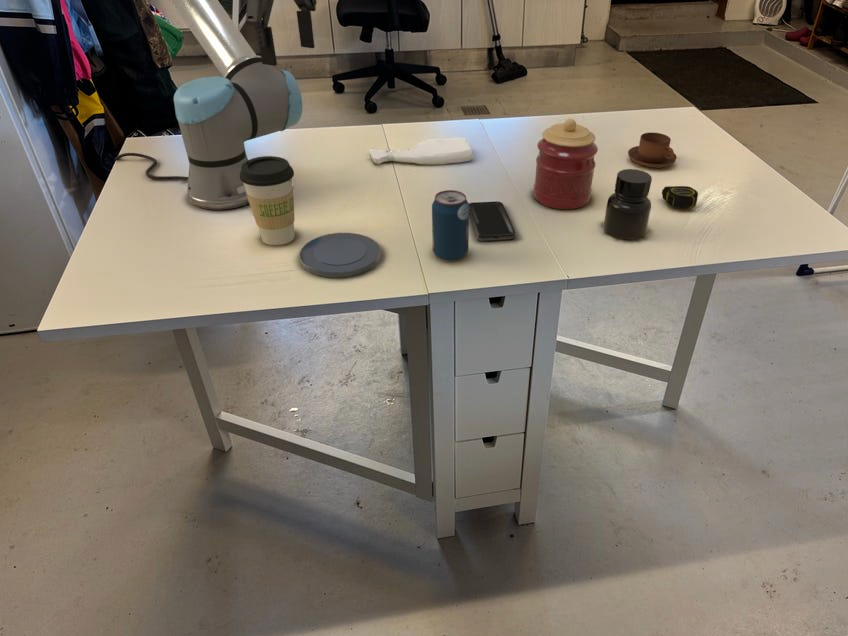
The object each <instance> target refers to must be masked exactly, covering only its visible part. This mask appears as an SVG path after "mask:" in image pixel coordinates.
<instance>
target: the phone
mask: <svg viewBox="0 0 848 636" xmlns="http://www.w3.org/2000/svg"><path fill="white" fill-rule="evenodd" d="M468 203H469V220H470V223H471V225H472V228H473V231H474V235H475V236H476V239H477V240H478V241H480V242H491V241H506V240H508V241H509V240H513V239H515V237H516V231H515V228H514V226H513V223H512V221H511V219H510V217H509V214H508V212H507V211H506V208H505V206H504V203H503V202H502V201H498V200H497V201H476V202H475V201H473V202H468Z"/></svg>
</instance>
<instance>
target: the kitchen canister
mask: <svg viewBox="0 0 848 636" xmlns="http://www.w3.org/2000/svg"><path fill="white" fill-rule="evenodd" d="M541 135H542V138H541V139H539V140H538V142H537V143H536V145H537V149H538V155H537V156H536V158H535V162H536V165H535V166H536V167H535V179H534V183H533V196H534V199H535V200H536V201H537V202H538V203H540V204H541V205H544V206H545V207H548V208H552V209H556V210H557V209H558V210H573V209H579V208H582V207H584V206H586V205H587V204H588V203H589V202H590V198H591V196H592V191H593V189H592V186H593V180H594V173H595V168H596V166H597V165H596V161H595V156H596V154H597V153H598V152H599V151H598V150H599V149H598V146H597V144H596V143H595V141H596V136H595V133H593V132H592V131H591V130H590V129H588V128H587V127H585V126H584V125H581V124H577V121H576V120H575V119H573V118H567V119H565V121H564V122H563V123H562V122H561V123H556V124H553V125H550V127H548V128H546V129H544V130H543V131H542V134H541Z"/></svg>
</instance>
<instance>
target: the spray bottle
mask: <svg viewBox="0 0 848 636" xmlns="http://www.w3.org/2000/svg"><path fill="white" fill-rule="evenodd" d="M369 153H370V157H371V160H372V161H373V162H374V163H376V164H377V165H380V164H381V163H384V162H400V163H409V164H417V165H425V166H426V165H428V166H429V165H433V166H434V165H437V166H438V165H447V164H458V163H459V164H460V163H467V162H471V161H472V160H473V157H474V155H473V150H472V148H471V146H470V144H469V142H468V141H467V140H466V138H464V137H444V138H443V137H441V138H431V139H427V140H426V139H425V140H423V141H421V142H419V143H418V144H417V145H416V146H415V147H414V148H413V149H401V150H395V149H393V150H392V149H391V148H388V149H383V150H379V149H375V148H373V147H372V148H370V149H369Z"/></svg>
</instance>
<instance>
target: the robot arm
mask: <svg viewBox="0 0 848 636" xmlns="http://www.w3.org/2000/svg"><path fill="white" fill-rule="evenodd" d="M169 2H170V4H172V6H173V7H174V9H175V10H176V12H177V13H178V14H179V16H180V18H181V19H182V20H183V22H184V23H185V24H186V26H187V28H188V29H189V30H190V32H192V34H193V36H194V37H195V39H196V40H197V42H198V43H199V44H200V46H201V47H202V49H203V50H204V51H205V53H206V55H207V56H208V58H209V59H210V60H211V62H212V63H213V65H214V66H215V67H216V69H217V70H218V72H219V73H220V75H221V76H218V75H217V76H215V75H214V76H209V77H205V76H203V77H199V78H195V79H191V80H190V81H188V82H185V83H184V84H182V85H180V86H179V87H178V88H177V89H176V91H175V92H174V95H173V104H174V110H175V117H176V120H177V122H178V126H179V129H180V134H181V137H182V140H183V144H184V149H185V152H186V156H187V160H188V164H189V167H188V176H180V175H179V176H177V175H174V176H172V175H169V176H167V175H166V176H159V175H152V174H150V173H151V171H152V170H153V169H154V168H155V167H156V166H157V165H158V161H157V159H156V158H154V157H152V156H150V155H146V154H143V153H137V152H125V153H121V154H118V155H117V156H116V157H115V158H114V161H119V160H121V158H125V157H138V158H143V159H147V160H148V161H149V160H150V161H151V162H152V164H151V165H150V166H148V168H147V169H146V171H145V176H146V177H148V178H150V179H152V180H158V181H159V180H163V181H167V180H183V181H187V188H186V192H187V195H188V198H189V199H188V200H189V202H190V203H191V204H192V205H194V206H195V207H197V208H201V209H205V210H213V211H215V210H216V211H217V210H220V211H221V210H222V211H223V210H231V209H236V208H237V209H238V208H240V207H244V206H247V205H250V203H249V200H248V198H247V195H246V189H245V186H244V183H243V182H242V181H241V180H240V171H241V166H242V164H243V163H244V162H246V161H248V160H249V159H248V156H247V151H246V147H245V142H247V141H250V140H255V139H257V138H261V137H264V136H267V135H271V134H275V133H277V132H283V131H286V130H287V129H289V128H292V127H294V126H296V125H297V124H298V123H299V122H300V120H301V118H302V115H303V96H302V93H301V89H300V86H299V84H298V82H297V80H296V78H295V77H294V75H293V74H292V72H290V71H288V70H285V69H278V70H276V69H275V68H274V67H275V66H276V67H277V65H278V61H277V54H276V49H275V48H276V47H275V42H274V35H273V30H272V26H269V22H270V18H271V15H272V10H273V6H274V2H275V0H247V1H246V11H245V14H246V15H245V24H246V25H248V26H249V27H254V29H255V34H256V38H257V45H258V46H259V52H260V55H257V54H256V52H255V51H254V49H253V48H252V47H251V45H250V44H249V43H248V41H247V40H246V39H245V37H244V35H243V34H242V33H241V31H240V30H239V27H237V26H236V24H235V23H234V21H233V20H232V19H231V17H230V16H229V14H228V13H227V11H226V9H225V8H224V7H223V5H222V4H221V3H220V2H219V0H169ZM293 2H294V4H295V5H296V7H297V8H298V10H296V11H295V13H296V18H297V25H298V34H299V41H300V47H301V48H306V49H307V48H308V49H315V48H316V47H315V39H314V30H313V20H312V12H316V10H317V7H316V5H317V0H293Z"/></svg>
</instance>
